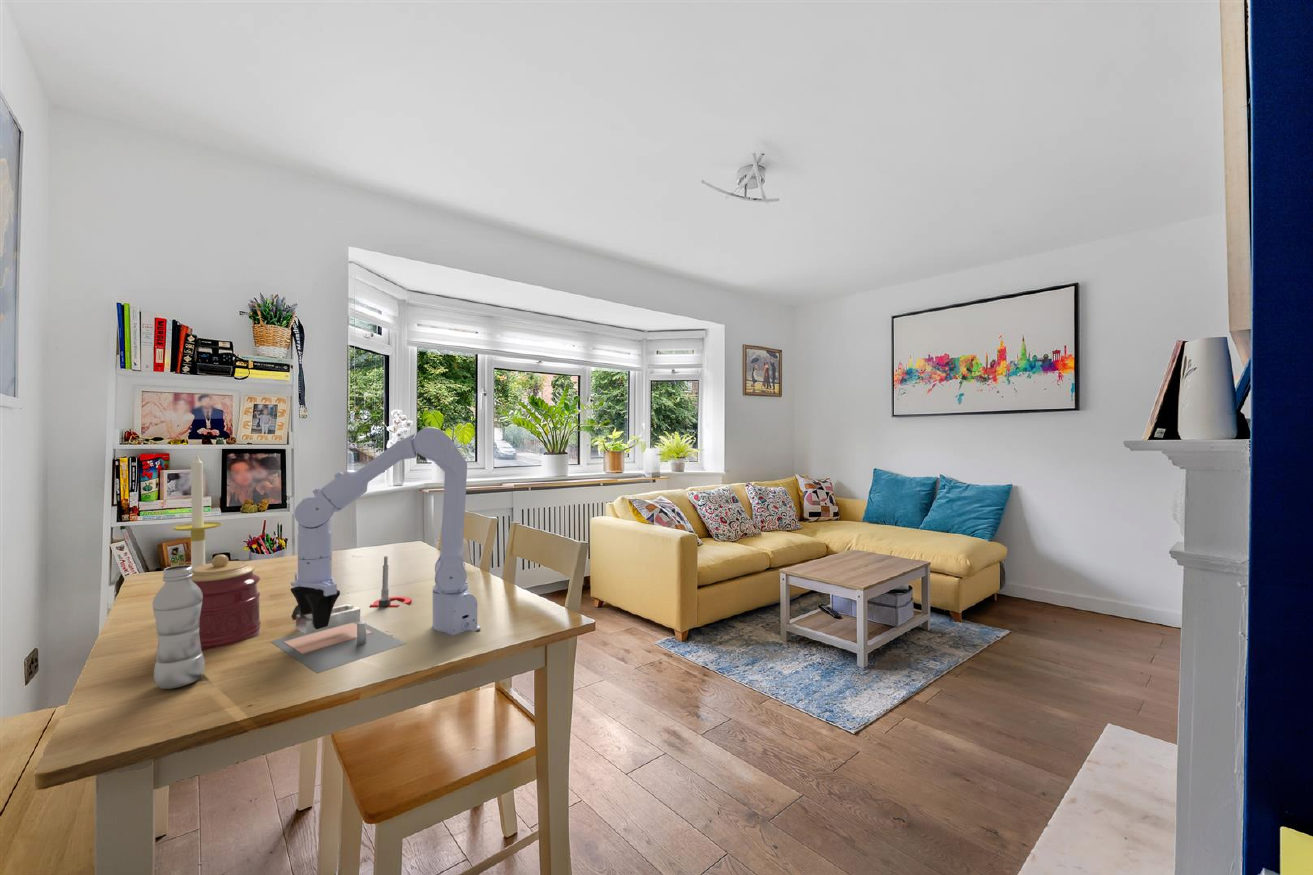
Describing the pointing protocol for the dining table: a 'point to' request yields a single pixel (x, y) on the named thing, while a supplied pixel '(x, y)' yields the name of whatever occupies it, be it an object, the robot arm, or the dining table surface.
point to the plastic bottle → (178, 629)
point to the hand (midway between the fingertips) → (315, 624)
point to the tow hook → (386, 600)
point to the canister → (227, 602)
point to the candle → (197, 516)
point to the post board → (336, 645)
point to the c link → (337, 618)
